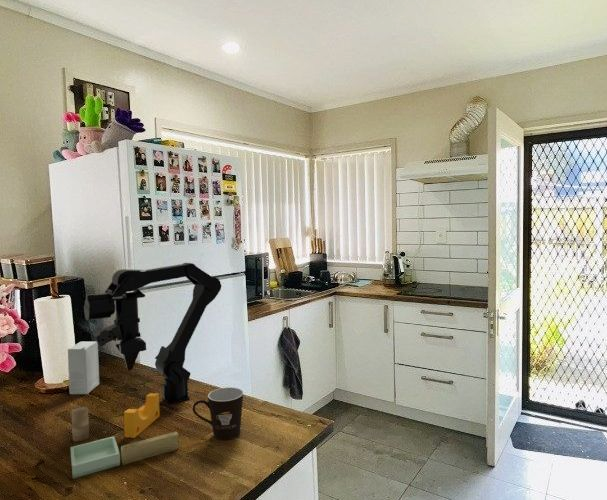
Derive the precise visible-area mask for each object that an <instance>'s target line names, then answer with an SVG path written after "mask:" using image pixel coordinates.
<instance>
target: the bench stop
mask: <svg viewBox="0 0 607 500" xmlns="http://www.w3.org/2000/svg"><path fill="white" fill-rule="evenodd" d="M179 442H180V441H179V433H178V432H177V431H173V432H169V433H165V434H161V435H157V436H154V437H150V438H147V439H142V440H139V441H134V442H131V443H127V444H124V445H121V446H120V450H121V451H120V454H121V455H120V456H121V463H122V465H123V466H124V465H127V464H131V463H134V462H138V461H141V460H144V459H148V458H151V457H155V456H158V455H163V454H166V453H169V452H173V451H176V450H179V449H180V446H179Z"/></svg>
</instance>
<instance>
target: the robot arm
mask: <svg viewBox="0 0 607 500" xmlns="http://www.w3.org/2000/svg"><path fill="white" fill-rule="evenodd" d="M182 278H186V279H187V280H189V282H190V283H191V284H193V285H194V286H193V290H192V299H191V302H190V304H189V307H188V308H187V310H186V313H185V315H184V316H183V318H182V320H181V322H180V324H179V327H178V328H177V330H176V332H175V334H174V336H173V338H172V340H171V342H170V343H169V344H168V345H167V346H166V347H165V346H163V345H161V347H160V349H159V351H158V353H157V355H156V356H155V357H154V359H155V363H154V365H155V369H156V370H157V372H158V373H160V374H161V375H162V377H164V378H163V383H162V385H161V387H162V399H163V400H164V401H165V402H166V403H167V404H169V405H170V404H174V403H178V402H183V401H188V400H190V399H191V397H190V396H189V386H188V385H189V383H188V381H189V380H190V377H191V371H189V370H187V369H186V368H185V367H184V364H185V360H186V350H187V347H188V345H189V343H190V342H191V339H192V337H193V335H194V332H195V331H196V330H197V329H196V328H197V326H198V325H199V322H200V321H201V318H202V316H203V314H204V312H205V310H206V308H207V307H208V306H209V304H211V303H212V302H213V301H214V300H215V299H216V297H217V296H218V295H219V293H220V291H221V290H222V283H221V281H220V279H219V278H218V277H216V276H211V275H210V274H209V273H208V272H206V271H204V270H202V269H201V268H200V267H198V266H196V264H195V263H193V262H183V263H180V264H175V265H168V266H162V267H156V268H150V269H134V268H133V269H127V268H125V269H117V270H116V271H115V273H113V275H112V277H111V283H110V284H109V286H107V288H106V289H105V291H104V293H96V294H95V293H89V294H85V300H84V305H83V312H84V318H85V320H86V321H88V322H89V321H94V320H95V321H96V320H100V319H101V320H102V319H108V318H111V317H112V315H114V314H115V318H114V319H113V324H111V325H109V326H106V327H105V328H102V329H99V330H97V331H96V332H94V333H93V337H94V339H95V342H97V343H98V347H100V348H101V347H103V346H105V345H107V343H110V342H112V341H113V342H116V341H118V343H117V344H115V346H116V348H117V350H118V351H119V352H120V354H121V355H123V359H124V362H125V366H126V369H127V371H129V372H130V371H132V370H133V369H134V366H135V365H136V361H137V359H138V356H139V354H140V352H145V351H147V342H146V341H145V340H144V339H143V338H141V332H140V324H139V323H140V322H141V319H140V317H139V306H138V305H139V303H138V301H139V300H138V299H140V298H145V297H146V294H145V293H143V292H142V291H141V290H140V289H141V288H144V287H145V286H147V285H149V284H153V283H158V282H163V281H169V280H175V279H182Z"/></svg>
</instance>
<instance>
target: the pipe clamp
mask: <svg viewBox="0 0 607 500" xmlns="http://www.w3.org/2000/svg"><path fill="white" fill-rule="evenodd" d="M145 396H146V397H145V404H143V405H141V406H140V407H138V409H136V408H135V409H134V408H128V409H126V410H125V411H124V412H123V421H124V422H123V423H124V438H129V437H131V439H133V438H134V439H135V438H136V437H138V436H139V435H140V434H141V433H142V432H143V431H145V430H146V429H147V428H148V427H149V426H150V425H151V424H152V423H153V422H154V421H156V420H158V419H159V417H161V415H160V414H161V413H160V394H159V393H158V392H155V393H154V392H149V393H148V394H147V395H145Z"/></svg>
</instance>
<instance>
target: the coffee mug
mask: <svg viewBox="0 0 607 500" xmlns="http://www.w3.org/2000/svg"><path fill="white" fill-rule="evenodd" d="M207 400H208V401H207ZM207 400H204V399H203V400H202V399H199V400H197V401H195V402H194V403H193V405H192V412H193V414H195V416H196V417H197V418H199V419H200V420H202V421H204V422H206V423H208V424H209V425H210V426H211V427H212V433H213V437H214V438H215V439H216V440H219V441H229V440H233V439H236V438H237V437H239V436H240V434H241V426H242V425H241V424H242V416H243V415H242V412H243V401H244V391H243V390H242V388H241V389H240V388H239V387H230V386H229V387H219V388H216V389H214V390H212V391H210V392H209V393H208V395H207ZM198 404H204V405H206V407H207V408H208V409H209V413H210V420H209V419H207V418H205V417H203V416H202V415H200V414H199V413H198V412H197V411H196V406H197V405H198Z"/></svg>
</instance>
